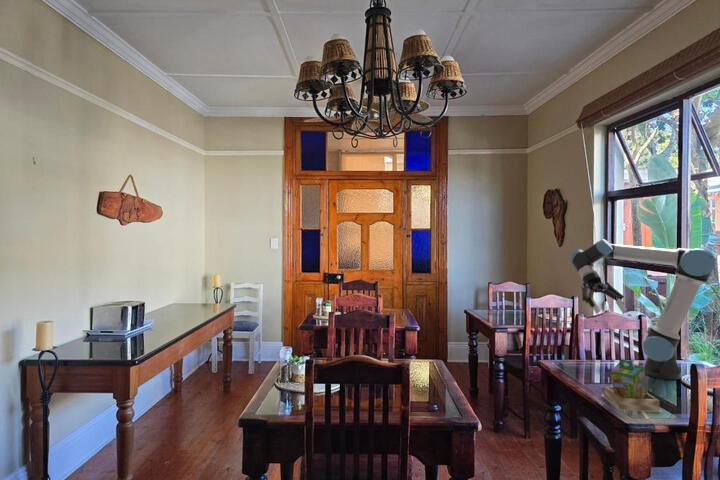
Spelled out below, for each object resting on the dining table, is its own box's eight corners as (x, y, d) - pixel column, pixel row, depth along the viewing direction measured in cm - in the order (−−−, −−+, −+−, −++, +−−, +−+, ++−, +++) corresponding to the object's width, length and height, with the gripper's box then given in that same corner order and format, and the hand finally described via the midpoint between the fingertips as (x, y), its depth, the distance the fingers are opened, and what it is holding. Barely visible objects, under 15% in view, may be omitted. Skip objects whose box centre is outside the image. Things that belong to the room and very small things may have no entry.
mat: (640, 397, 177) (641, 396, 177) (663, 413, 161) (663, 412, 161) (600, 395, 179) (600, 394, 179) (618, 411, 163) (618, 409, 163)
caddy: (639, 397, 176) (639, 387, 176) (659, 410, 162) (659, 400, 162) (604, 395, 177) (604, 386, 177) (620, 409, 164) (620, 398, 164)
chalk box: (614, 397, 171) (607, 364, 169) (624, 386, 176) (617, 354, 174) (639, 403, 163) (632, 368, 162) (649, 392, 168) (642, 358, 167)
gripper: (608, 280, 215) (631, 315, 200) (563, 281, 211) (583, 317, 196) (616, 271, 209) (640, 306, 195) (570, 271, 206) (591, 307, 191)
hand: (611, 311), depth 196 cm, fingers open, 13 cm apart
